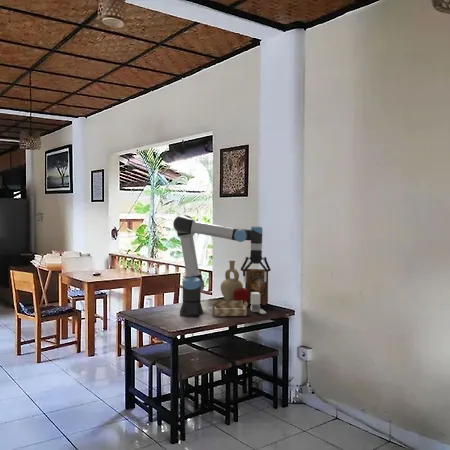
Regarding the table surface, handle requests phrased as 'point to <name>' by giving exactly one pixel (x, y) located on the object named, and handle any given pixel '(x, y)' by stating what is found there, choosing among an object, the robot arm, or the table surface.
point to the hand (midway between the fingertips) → (255, 281)
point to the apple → (241, 294)
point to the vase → (230, 283)
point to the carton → (230, 308)
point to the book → (257, 284)
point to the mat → (262, 311)
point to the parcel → (255, 302)
